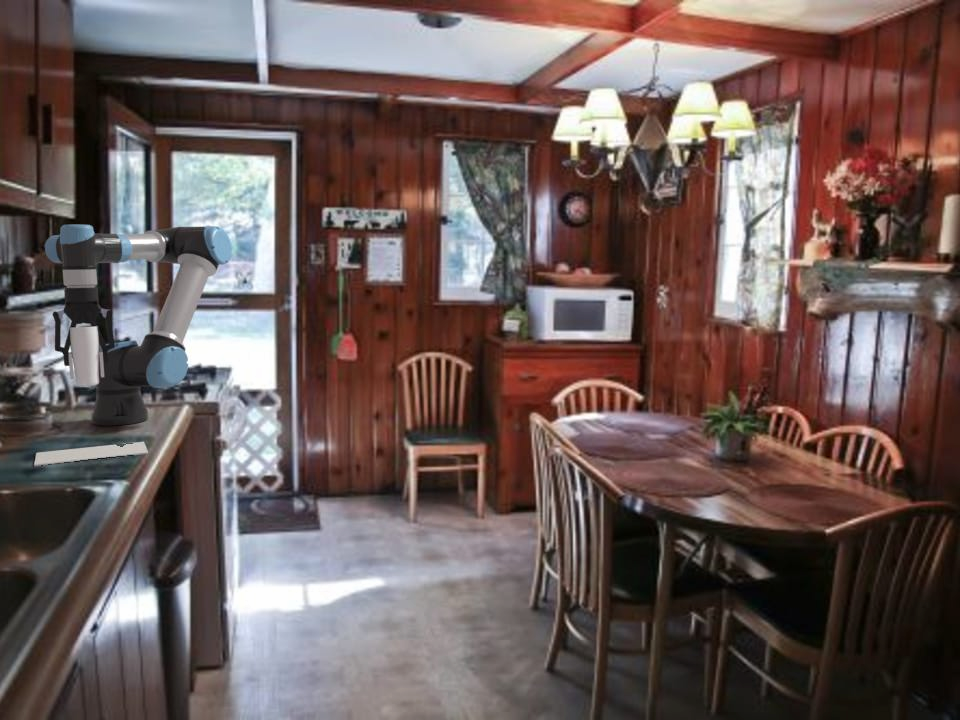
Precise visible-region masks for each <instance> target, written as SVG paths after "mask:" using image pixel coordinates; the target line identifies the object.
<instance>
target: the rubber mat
mask: <svg viewBox="0 0 960 720" xmlns="http://www.w3.org/2000/svg"><path fill="white" fill-rule="evenodd" d="M132 443H133V444H126V443H125V444H126V445H124V446H123V447H120V446H117V445H116V444H110V445H109V444H108V445H97V446H89V447H79V448H70V449H69V448H68V449H61V450H51V451H50V450H49V451H48V450H47V451H41V452H40V451H39V452H36V453H35V459H34V462H33V463H34V464H33V466H34V467H41V465H43V466H49V465H48V464H52V465H56V464H55V463H61V464H65V463H64V462H71V463H75V462H74V461H80V460H88V459H97V458H106V457H116V456H125V457H128V456H127V455H134V456H141V455H143V456H144V455H149V451H148V447H147V446H146V444H145V441H137V442H132ZM116 458H117V457H116ZM80 462H81V461H80Z"/></svg>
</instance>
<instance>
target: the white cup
mask: <svg viewBox="0 0 960 720" xmlns="http://www.w3.org/2000/svg"><path fill="white" fill-rule="evenodd" d="M97 326H98V325H97ZM97 326H95V327H92V326H91V324H88V325H76V328H74V327H70V326H69V327H68V330H69V329H70V340H71V345H70V353H72V361H73V371H74V378H75V384H76V386H78V387H93V386H96V385H97V384H99V348H100V343H99V337H98V328H99V327H98V328H97Z"/></svg>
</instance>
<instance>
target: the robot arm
mask: <svg viewBox="0 0 960 720" xmlns="http://www.w3.org/2000/svg"><path fill="white" fill-rule="evenodd" d="M232 249H233V248H232V243H231V240H230V236H229V235H228V234H227V232H226V231H225V230H224V229H223V228H222V227H220V226H215V225H209V224H208V225H205V226H176V227H175V226H174V227H169V228H164V229H156V230H147V231H145V232H144V233H121V234H120V233H95V231H94V226H92V225H90V224H77V223H76V224H63V225H62V226H61V227H60V233H59V234H57V235H52V236H50V237H48V239H46V242H45V244H44V250H45V254H46V257H47V258H48V259H49V260H50V261H51V262H53V263H55V264H62V279H63V285H64V286H66V287H65V288H64V289H63V291H64V301H65V302H64V307H63V309H62V310H58V311H53V312H52V317H53V320H54V351H55V352H59V353H62V355H63V356H62V357H63V364H64V367H69V377H70V380H74V379H75V373H74V364H73V358H72V353H71V352H69V351H70V349H71V347H70V345H71V340H70V329H69V328H68V332H67V335H66V339H65V343H64V347H63V346H61V340H62V339H61V338H62V337H61V336H62V335H61V330H62V329H61V328H62V327H61V326H62V324H61V321H62V319H63V318H64V315H66V316H67V318H69V319H70V321H71V322H70V325H69V327H74V328H76V326H77V325H81V324H82V325H83V324H88V325H91V326H92V327H95V326H97V328H98V337H99V343H100V348H99V384H97V385H95V390H96V393H95V394H96V398H95V402H94V406H93V412H92V414H91V418H90V419H91V424H92V425H95V426H105V427H106V426H107V427H108V426H109V427H110V426H112V427H113V426H122V425H123V426H124V425H132V424H138V423H142V422H145V421H147V420H149V410H148V409H147V408H146V406H145V401H144V400H143V399H144V398H143V396H142V393H141V388H142V387H144V388H153V389H154V388H155V389H163V388H172V387H176V386H177V385H178V384H180V383H181V382H182V381H183V380H184V378H185V377H186V375H187V372H188V369H189V363H187V362H188V361H189V359H188V358H189V357H188V355H187V353H186V346H185V345H184V343H183V342H184V340H185V337H186V334H187V333H188V330H189V327H190V324H191V322H192V320H193V317H194V315H195V312H196V309H197V306H198V304H199V302H200V299H201V297H202V294H203V292H204V289H205V287H206V285H207V281H208V279H209V278H210V277H212V276H214V275H216V273H217V271H218V268H219V265H226V264H227V263H229V262H230V260H231V258H232V253H233V252H232ZM134 260H135V261H139V260H146V261H147V262H151V263H167V264H168V263H169V264H175V265H179V268H178V271H177V273H176V276H175V278H174V280H173V283H172V285H171V287H170V290H169V293H168V294H167V297H166V299H165V302H164V304H163V307H162V310H161V312H160V313H159V317H158V319H157V320H156V321H157V322H156V324H155V326H154V328H153V331H152V332H150V333H147V334H146V335H144V338H143V340H142V343H141V345H139V344H138V341H137V340H135V339H134V340H128V341H119V342H115V336H114V332H113V324H112V315H113V311H112V310H111V309H105V308H102V307H101V306H100V303H99V302H100V301H99V292H98V291H99V289H98V287H97V285H98V277H97V275H98V273H97V264H105V263H106V264H109V263H110V264H119V263H125V262H127V261H134ZM100 314H102V317H103V318H105V325H106V332H107V333H106V334H107V337H108V338H107V339H108V343H106V342H105V339H104V338H103V336H102V333H101V330H100V329H99V325H98V324H97V322H96V319H97V318H98V317H99V315H100Z"/></svg>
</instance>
